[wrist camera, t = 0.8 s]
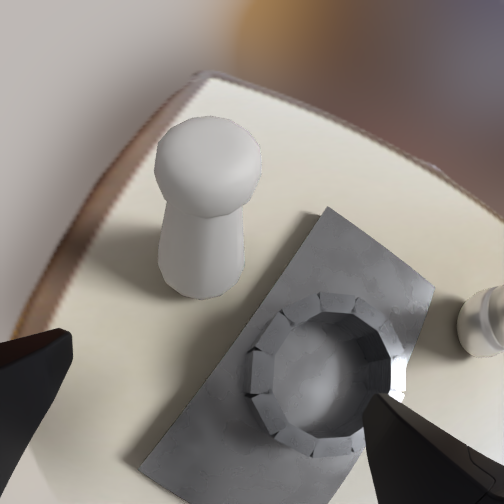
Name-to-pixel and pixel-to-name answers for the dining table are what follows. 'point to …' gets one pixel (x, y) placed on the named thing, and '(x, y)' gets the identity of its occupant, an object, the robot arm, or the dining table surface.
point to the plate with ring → (299, 377)
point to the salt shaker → (205, 203)
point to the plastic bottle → (483, 323)
